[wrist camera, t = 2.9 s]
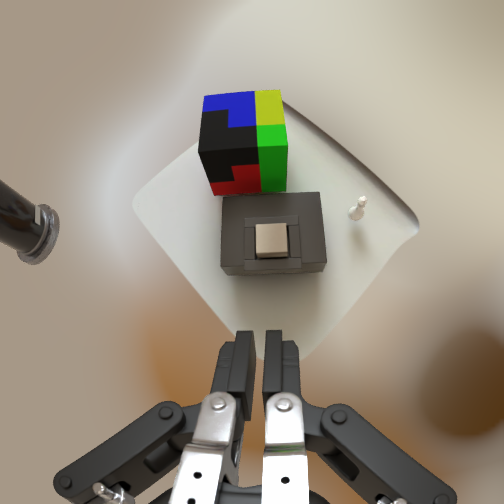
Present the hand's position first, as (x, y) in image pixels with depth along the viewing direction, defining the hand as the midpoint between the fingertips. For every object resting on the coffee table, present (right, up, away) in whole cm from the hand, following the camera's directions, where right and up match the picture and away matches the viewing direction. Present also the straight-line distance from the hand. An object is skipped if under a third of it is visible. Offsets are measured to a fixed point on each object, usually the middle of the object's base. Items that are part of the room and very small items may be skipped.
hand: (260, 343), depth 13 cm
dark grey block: (+2, +6, +25) cm, 26 cm away
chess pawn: (+14, +9, +25) cm, 30 cm away
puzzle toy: (-1, +17, +29) cm, 34 cm away
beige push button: (+2, +5, +19) cm, 20 cm away
